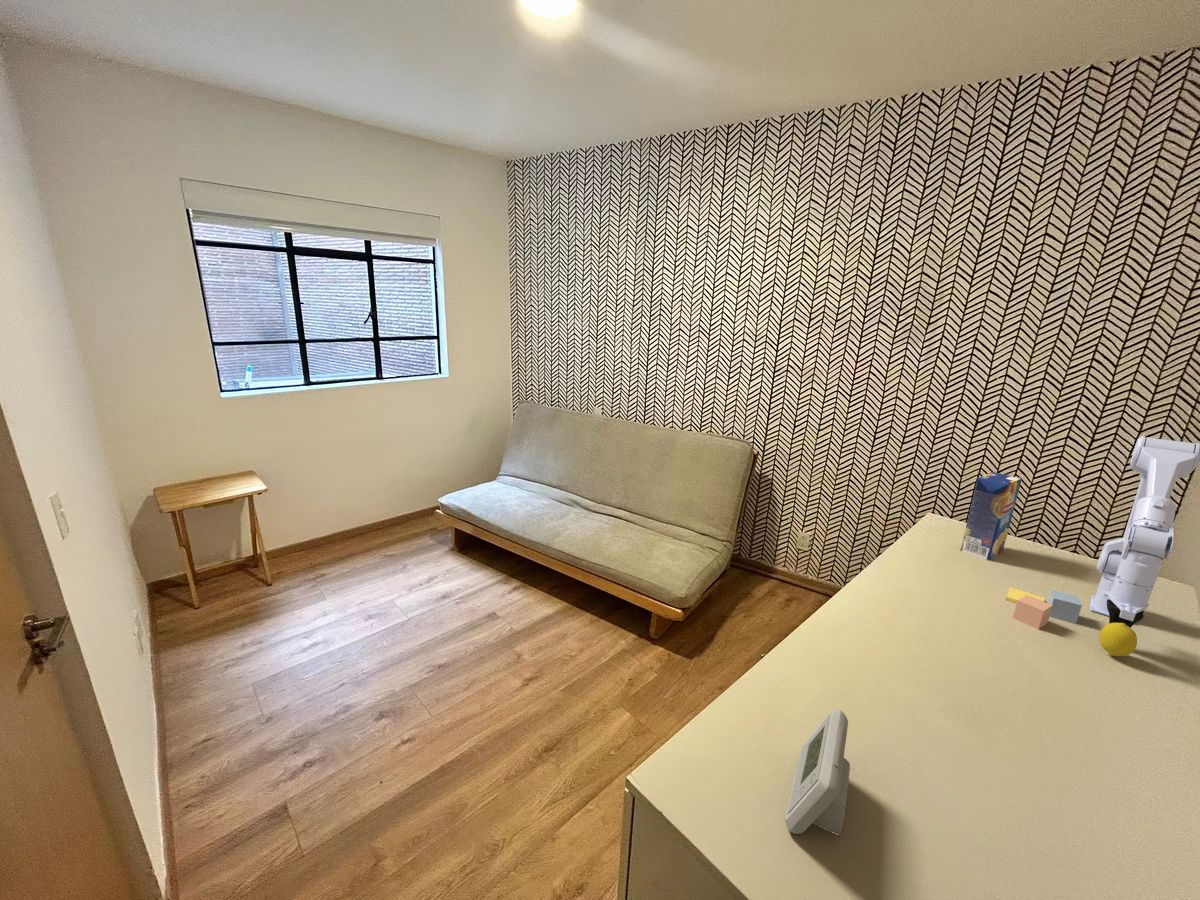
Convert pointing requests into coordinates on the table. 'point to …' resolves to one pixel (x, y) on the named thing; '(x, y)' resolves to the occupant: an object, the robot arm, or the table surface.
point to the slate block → (1064, 606)
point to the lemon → (1118, 639)
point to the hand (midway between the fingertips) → (1115, 635)
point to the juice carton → (990, 515)
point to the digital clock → (821, 778)
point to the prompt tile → (1020, 595)
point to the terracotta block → (1032, 611)
